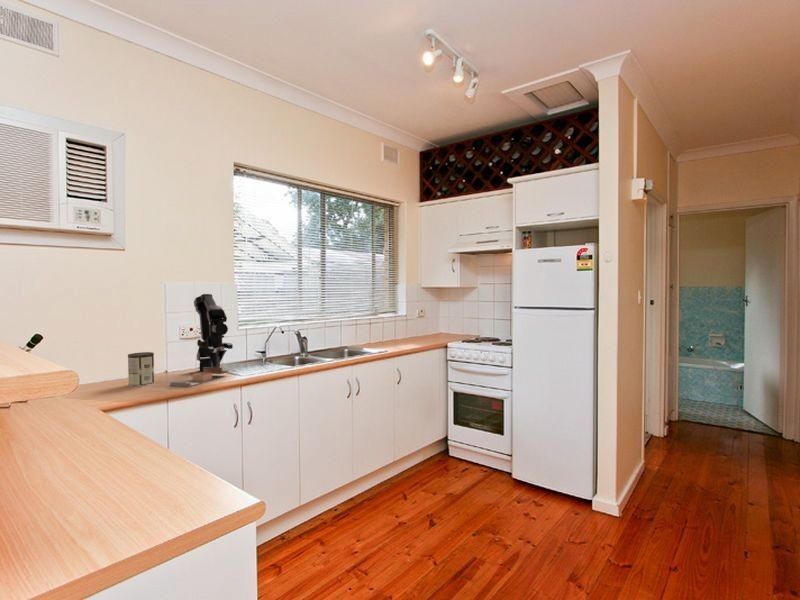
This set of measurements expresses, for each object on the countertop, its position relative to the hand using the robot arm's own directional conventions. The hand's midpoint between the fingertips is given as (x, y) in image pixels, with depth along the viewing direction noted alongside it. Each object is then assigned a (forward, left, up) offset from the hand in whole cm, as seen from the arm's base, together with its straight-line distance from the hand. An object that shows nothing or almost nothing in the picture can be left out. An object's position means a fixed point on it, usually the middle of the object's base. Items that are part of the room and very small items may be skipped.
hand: (216, 365), depth 221 cm
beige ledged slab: (0, 0, -4) cm, 4 cm away
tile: (+10, 0, -5) cm, 12 cm away
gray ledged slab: (+13, 0, -6) cm, 14 cm away
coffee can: (+24, -21, -6) cm, 33 cm away
